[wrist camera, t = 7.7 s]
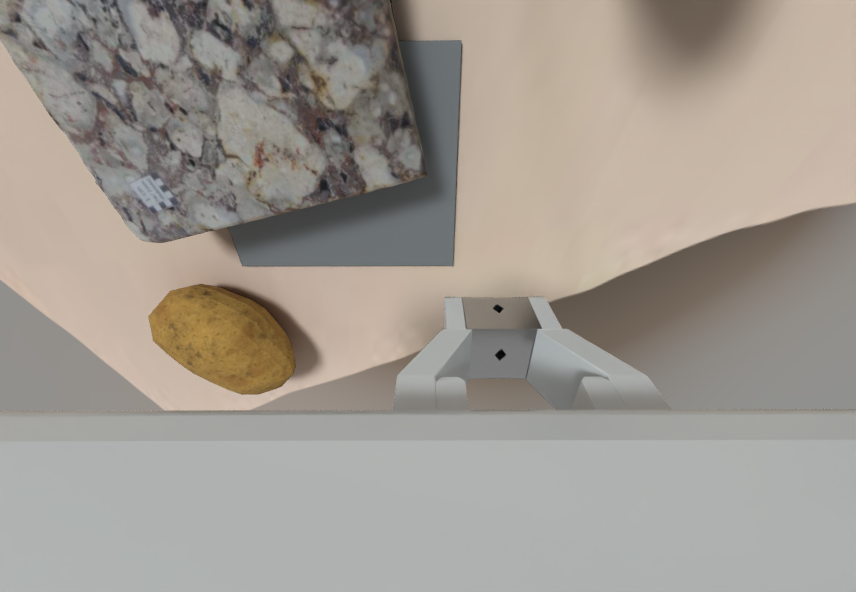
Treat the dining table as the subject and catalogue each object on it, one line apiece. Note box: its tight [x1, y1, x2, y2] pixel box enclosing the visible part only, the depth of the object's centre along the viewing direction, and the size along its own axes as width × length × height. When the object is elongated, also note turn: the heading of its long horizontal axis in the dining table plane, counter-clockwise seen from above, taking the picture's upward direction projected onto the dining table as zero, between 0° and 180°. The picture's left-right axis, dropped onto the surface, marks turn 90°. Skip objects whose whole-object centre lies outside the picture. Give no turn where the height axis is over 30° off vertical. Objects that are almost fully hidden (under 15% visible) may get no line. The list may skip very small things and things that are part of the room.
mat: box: [228, 40, 461, 266], centre depth 25 cm, size 19×16×1 cm
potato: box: [148, 284, 296, 395], centre depth 31 cm, size 9×13×7 cm
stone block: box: [0, 0, 427, 243], centre depth 20 cm, size 13×7×20 cm
